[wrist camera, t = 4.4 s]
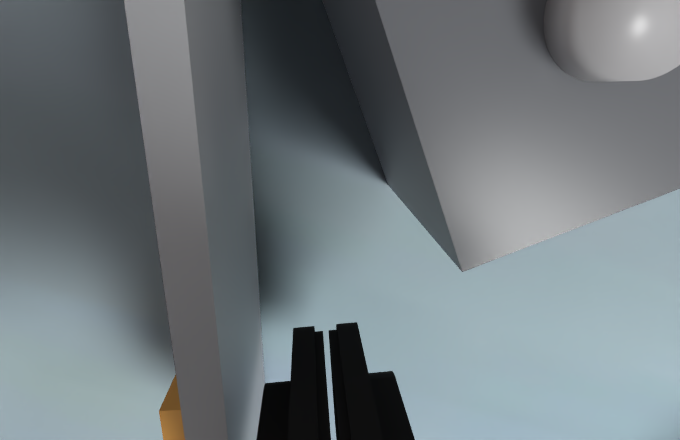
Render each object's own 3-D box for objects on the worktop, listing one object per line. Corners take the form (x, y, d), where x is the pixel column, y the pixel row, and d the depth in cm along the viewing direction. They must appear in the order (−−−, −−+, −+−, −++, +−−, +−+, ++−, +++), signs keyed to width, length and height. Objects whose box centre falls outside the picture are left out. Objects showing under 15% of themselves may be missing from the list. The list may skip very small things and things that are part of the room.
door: (233, -203, 10) (120, -664, 4) (270, 403, 15) (246, 613, 9) (151, -208, 10) (-101, -693, 4) (216, 405, 15) (156, 621, 9)
